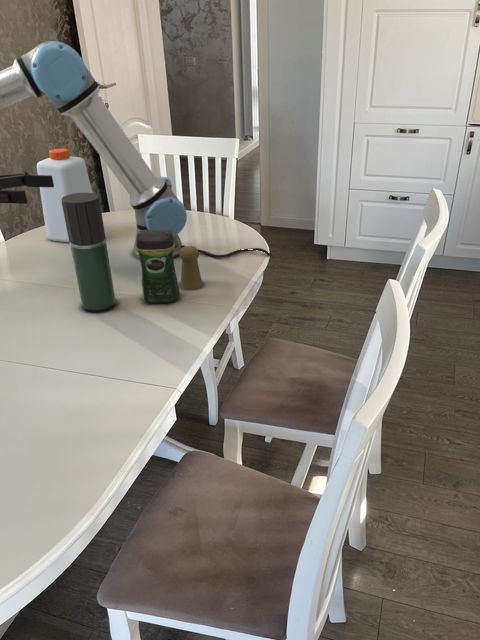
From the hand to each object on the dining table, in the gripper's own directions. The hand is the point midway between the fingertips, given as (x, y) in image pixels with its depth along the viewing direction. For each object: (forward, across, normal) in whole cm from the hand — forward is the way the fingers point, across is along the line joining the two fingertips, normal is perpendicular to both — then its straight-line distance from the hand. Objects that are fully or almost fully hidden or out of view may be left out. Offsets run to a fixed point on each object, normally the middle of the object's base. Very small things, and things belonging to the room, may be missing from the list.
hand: (39, 189), depth 127 cm
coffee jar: (+24, -6, -30) cm, 39 cm away
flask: (+9, 0, -30) cm, 31 cm away
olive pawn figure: (+30, -15, -30) cm, 45 cm away
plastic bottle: (-18, -50, -30) cm, 61 cm away
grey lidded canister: (+10, 0, -12) cm, 15 cm away
